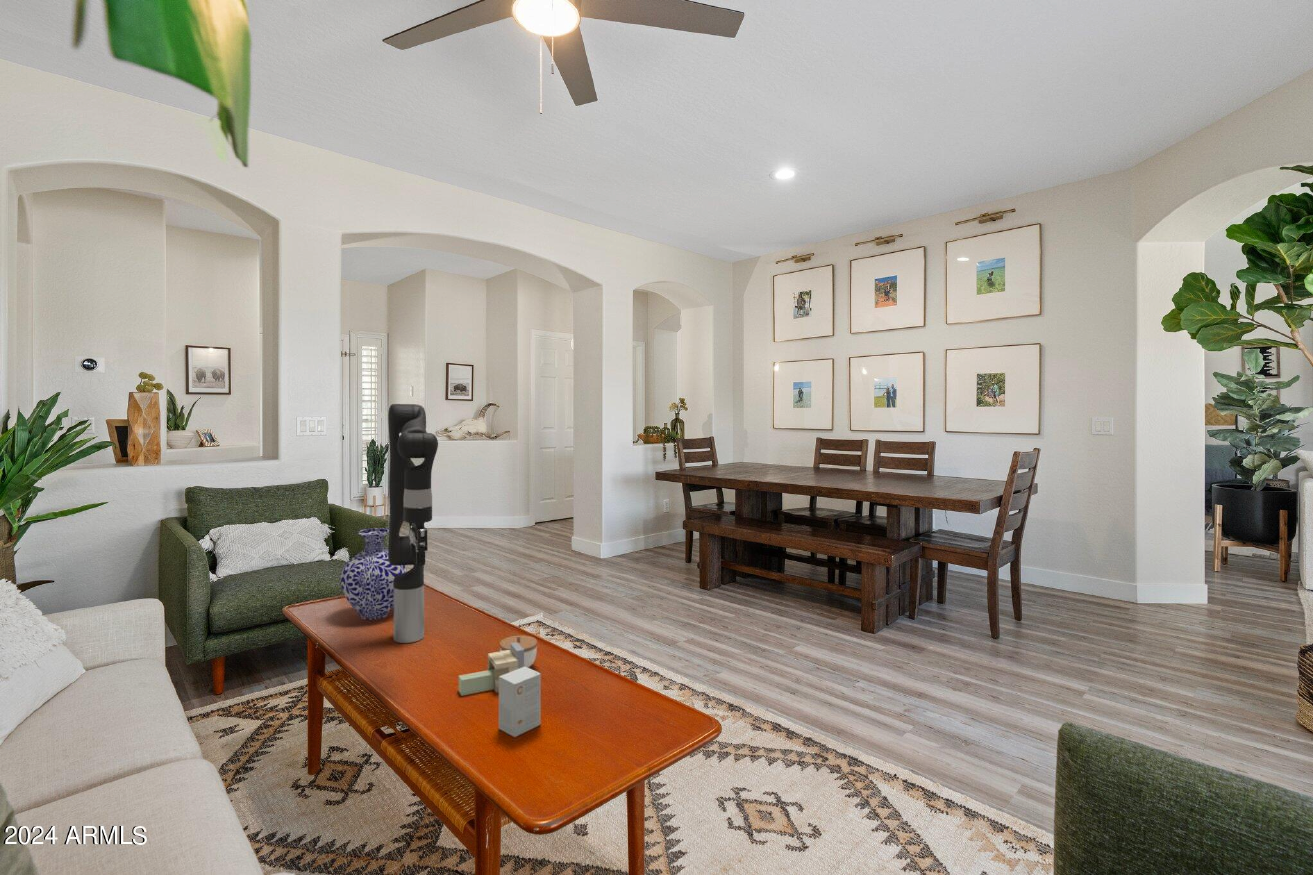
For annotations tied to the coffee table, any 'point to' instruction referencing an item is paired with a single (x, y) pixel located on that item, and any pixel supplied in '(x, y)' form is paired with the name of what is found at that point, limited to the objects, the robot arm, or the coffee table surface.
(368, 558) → the vase
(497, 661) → the block
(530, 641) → the lidded jar
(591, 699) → the coffee table surface
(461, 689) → the pale green rectangular bar
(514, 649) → the wall
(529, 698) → the small box
